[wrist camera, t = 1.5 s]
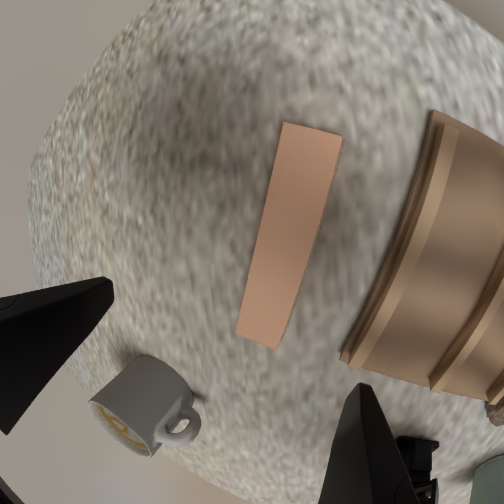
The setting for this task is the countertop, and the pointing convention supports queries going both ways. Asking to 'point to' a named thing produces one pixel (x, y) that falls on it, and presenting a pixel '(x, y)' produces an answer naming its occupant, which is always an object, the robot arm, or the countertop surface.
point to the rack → (446, 271)
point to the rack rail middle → (471, 330)
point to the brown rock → (496, 412)
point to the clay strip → (288, 230)
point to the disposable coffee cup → (489, 482)
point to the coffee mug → (146, 407)
